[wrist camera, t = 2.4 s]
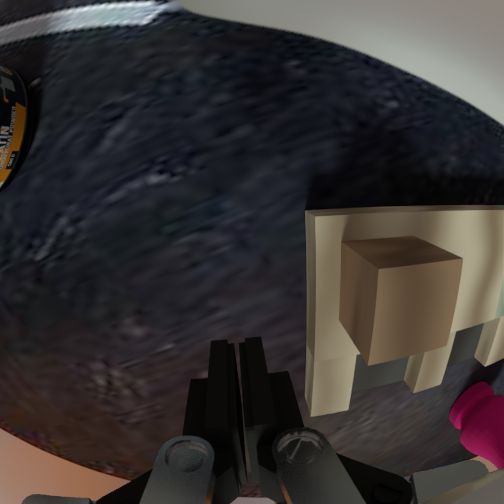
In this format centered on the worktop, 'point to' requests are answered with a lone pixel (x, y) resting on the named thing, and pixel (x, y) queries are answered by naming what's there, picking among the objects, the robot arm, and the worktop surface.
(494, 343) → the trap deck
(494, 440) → the pepper mill
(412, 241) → the walnut block
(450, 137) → the worktop surface
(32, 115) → the supplement container
